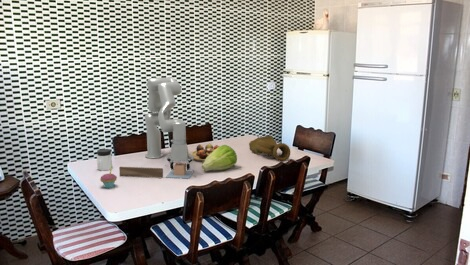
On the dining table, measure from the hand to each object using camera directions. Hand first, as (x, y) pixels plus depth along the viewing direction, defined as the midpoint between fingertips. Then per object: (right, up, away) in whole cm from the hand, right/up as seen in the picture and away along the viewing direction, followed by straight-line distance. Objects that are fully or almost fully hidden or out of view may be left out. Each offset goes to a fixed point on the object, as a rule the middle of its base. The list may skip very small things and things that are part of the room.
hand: (180, 169), depth 228 cm
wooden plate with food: (+16, +4, +43) cm, 46 cm away
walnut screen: (-23, -4, -4) cm, 23 cm away
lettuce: (+23, -1, +14) cm, 26 cm away
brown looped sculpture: (+58, +5, +45) cm, 73 cm away
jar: (-49, -1, +11) cm, 50 cm away
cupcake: (-36, -8, -21) cm, 42 cm away
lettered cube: (0, -3, +1) cm, 3 cm away
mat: (0, -3, +1) cm, 3 cm away
